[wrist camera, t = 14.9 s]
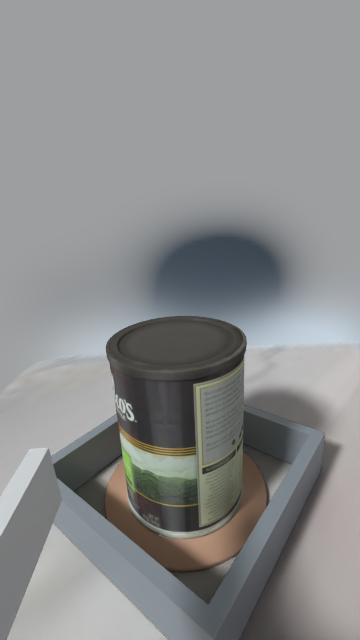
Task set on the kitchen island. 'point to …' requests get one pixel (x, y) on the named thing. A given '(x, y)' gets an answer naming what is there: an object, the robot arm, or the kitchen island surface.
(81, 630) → the kitchen island surface
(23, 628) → the kitchen island surface
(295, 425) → the grey square tray
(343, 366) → the kitchen island surface
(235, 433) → the coffee can
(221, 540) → the resting pad
